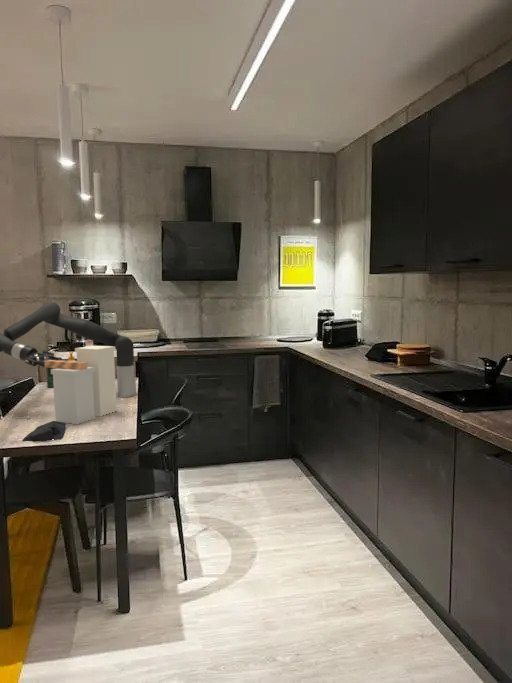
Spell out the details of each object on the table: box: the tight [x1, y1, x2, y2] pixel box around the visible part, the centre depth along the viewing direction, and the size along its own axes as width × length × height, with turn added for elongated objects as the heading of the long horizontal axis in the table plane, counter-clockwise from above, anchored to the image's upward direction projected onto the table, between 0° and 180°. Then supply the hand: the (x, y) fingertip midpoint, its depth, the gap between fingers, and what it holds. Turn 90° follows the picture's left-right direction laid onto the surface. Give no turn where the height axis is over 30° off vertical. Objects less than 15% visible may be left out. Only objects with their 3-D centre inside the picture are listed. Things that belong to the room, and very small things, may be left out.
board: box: [43, 360, 87, 370], centre depth 231 cm, size 22×4×3 cm, turn 65°
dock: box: [51, 367, 96, 425], centre depth 231 cm, size 14×12×24 cm
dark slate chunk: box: [22, 420, 67, 442], centre depth 210 cm, size 15×22×5 cm
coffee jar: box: [46, 356, 63, 389], centre depth 315 cm, size 10×8×19 cm
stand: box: [74, 345, 118, 417], centre depth 244 cm, size 14×12×32 cm
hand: (52, 362), depth 241 cm, fingers open, 8 cm apart
